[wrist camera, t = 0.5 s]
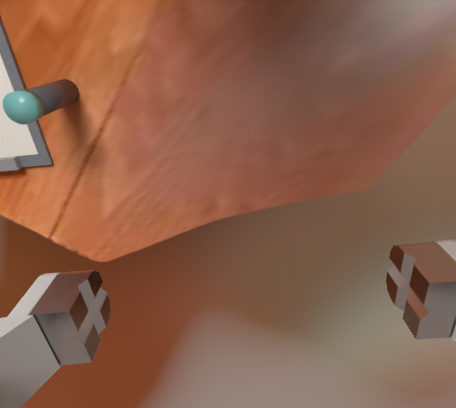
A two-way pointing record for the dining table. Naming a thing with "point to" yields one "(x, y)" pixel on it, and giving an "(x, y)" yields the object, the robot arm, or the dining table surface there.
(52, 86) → the marker
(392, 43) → the dining table surface
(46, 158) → the clipboard
